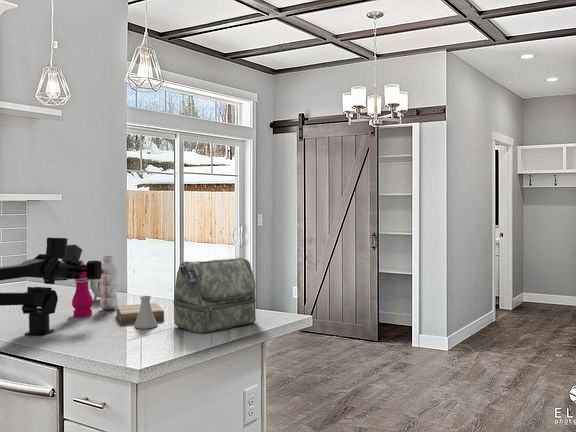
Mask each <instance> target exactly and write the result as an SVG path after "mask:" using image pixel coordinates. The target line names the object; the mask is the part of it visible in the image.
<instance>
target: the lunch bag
mask: <svg viewBox="0 0 576 432" xmlns="http://www.w3.org/2000/svg"><path fill="white" fill-rule="evenodd" d="M175 280H176V281H175V287H174V298H173V321H174V322H173V323H174V324H175V326H176V327H178V328H180V329H183V330H186V331H190V332H192V333H197V334H205V333H212V332H217V331H222V330H227V329H231V328H236V326H237V327H240V326H244V325H249V324H253V323H255V322H256V321H257V319H256V301H257V300H256V281H255V278H254V273H253V270H252V265H251V263H250V261H249V260H248V259H245V258H243V257H235V258H223V259H211V260H206V261H205V260H204V261H203V260H202V261H199V260H198V261H197V260H196V261H183V262H182V263H181V264H180V265H179V266H178V270H177V274H176V279H175Z"/></svg>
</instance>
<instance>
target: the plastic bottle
mask: <svg viewBox="0 0 576 432" xmlns="http://www.w3.org/2000/svg"><path fill="white" fill-rule="evenodd" d="M113 262H114V256H113V255H106V256H103V257H102V264H103V265H102V266H101V269H103V270H104V273H103V274H102V275H101V297H100V301H99V305H100V308H101V310H106V311H111V310H116V309H117V306H119V300H118V295H117V274H118V269H117V267H116V265H115V264H114V263H113Z"/></svg>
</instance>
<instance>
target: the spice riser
mask: <svg viewBox="0 0 576 432" xmlns="http://www.w3.org/2000/svg"><path fill="white" fill-rule="evenodd" d="M150 305H151V309H152V312H153V315H154V317H155V320H156V322H157V321H158V322H165V310H164V309H163V308H162V307H161V306H160V305H159V304H158V303H157V302H155V303H150ZM140 307H141V303H139V304H125V305H117V307H116V317H117V319H118V322H119V323H120V324H121V325H132V324H134V325H135V322H136V319H137V317H138V314H139V311H140ZM158 322H157V323H158Z"/></svg>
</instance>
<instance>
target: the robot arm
mask: <svg viewBox="0 0 576 432" xmlns="http://www.w3.org/2000/svg"><path fill="white" fill-rule="evenodd" d="M68 240H69V239H68V238H66V237H47V238H46V249H45V253H43V254H42V253H39V254H38V255H37V256H35V257H34V258H30V259H28V260H24V261H23V262H21V263H19V264H13V265H6V266H0V281H7V280H13V279H14V280H15V279H21V278H35V279H42V280H43V282H44V284H45V285H55V282H56V281H57V282H58V281H59V282H60V281H62V282H64V281H68V280H75V279H80V275H81V273H82V272H86V277H87V279H88V280H89V281H90V280H98V279H101V275H102V274H103V273H104V270H103V269H101V266H102V264H103V261H101V260H88V261H87V262H86V265H81V261H80V260H81V256H82V253H83V248H81V247H79V246H78V245H77V244H68V242H69V241H68ZM82 268H86V269H82ZM58 301H59V297H58V293H57V292H56V290H54V289H53V288H52V287H46V286H33V287H32V286H27V290H26V291H25V292H0V306H1V307H3V306H21V311H22V314H23V315H28V329H29V330H28V331H26V332H24V335H26V336H46V335H47V334H49V333H50V334H51V333H53V332H54V331H55V329H54V328H50V315H53V314H55V313H56V309H57V304H58Z"/></svg>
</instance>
